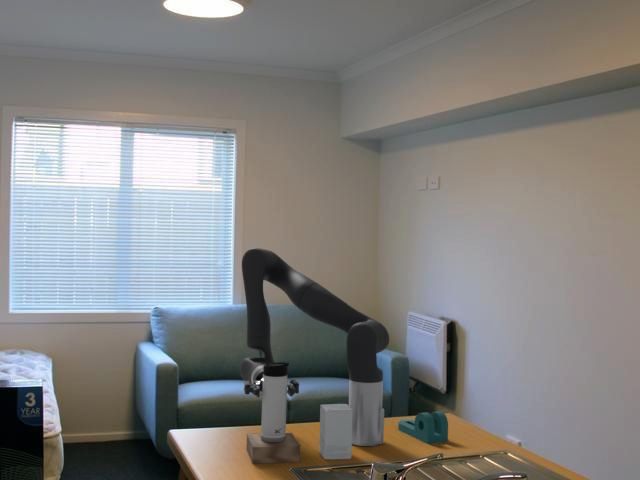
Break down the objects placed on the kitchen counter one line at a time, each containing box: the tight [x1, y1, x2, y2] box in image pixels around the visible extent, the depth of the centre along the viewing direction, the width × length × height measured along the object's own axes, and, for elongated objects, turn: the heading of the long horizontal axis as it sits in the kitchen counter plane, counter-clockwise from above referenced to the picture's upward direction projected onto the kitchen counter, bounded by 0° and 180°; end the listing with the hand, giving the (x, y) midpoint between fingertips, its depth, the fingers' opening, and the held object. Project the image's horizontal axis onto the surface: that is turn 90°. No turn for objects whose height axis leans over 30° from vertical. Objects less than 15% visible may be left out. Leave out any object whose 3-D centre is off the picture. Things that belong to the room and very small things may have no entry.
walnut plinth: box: [246, 432, 301, 464], centre depth 194 cm, size 12×12×4 cm
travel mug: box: [260, 361, 290, 443], centre depth 194 cm, size 6×7×20 cm
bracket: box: [397, 410, 449, 445], centre depth 218 cm, size 18×7×8 cm, turn 25°
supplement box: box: [318, 403, 353, 460], centre depth 195 cm, size 7×7×13 cm
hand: (275, 392), depth 192 cm, fingers open, 8 cm apart
